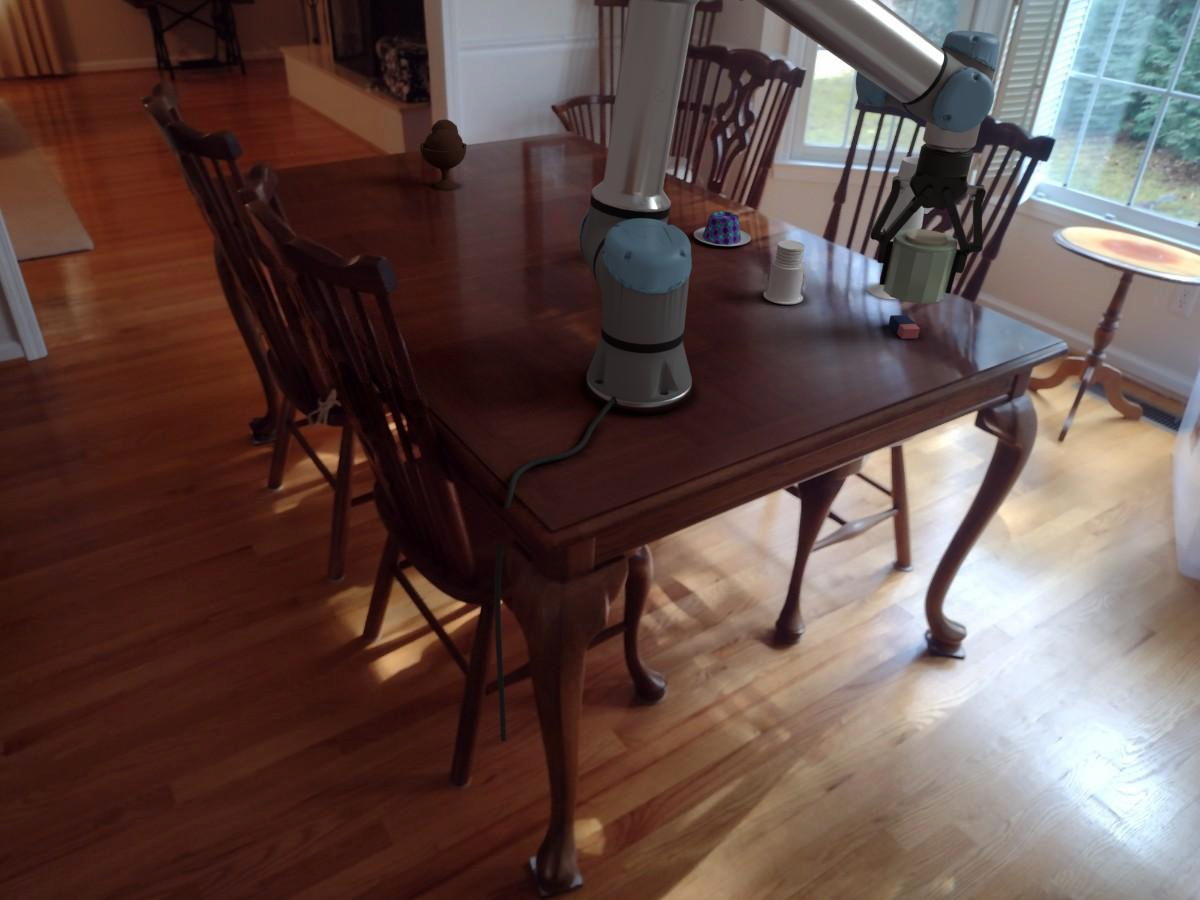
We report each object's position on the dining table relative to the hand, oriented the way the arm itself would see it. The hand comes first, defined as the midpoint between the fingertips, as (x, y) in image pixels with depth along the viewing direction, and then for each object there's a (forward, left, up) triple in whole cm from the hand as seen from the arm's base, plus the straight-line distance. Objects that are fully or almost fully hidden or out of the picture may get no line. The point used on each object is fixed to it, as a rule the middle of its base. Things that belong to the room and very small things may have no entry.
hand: (914, 286), depth 142 cm
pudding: (+34, +37, -8) cm, 51 cm away
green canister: (0, 0, -1) cm, 1 cm away
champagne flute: (+17, +3, -8) cm, 19 cm away
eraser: (0, 0, -8) cm, 8 cm away
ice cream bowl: (+46, +106, -8) cm, 116 cm away
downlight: (+7, +21, -8) cm, 24 cm away
